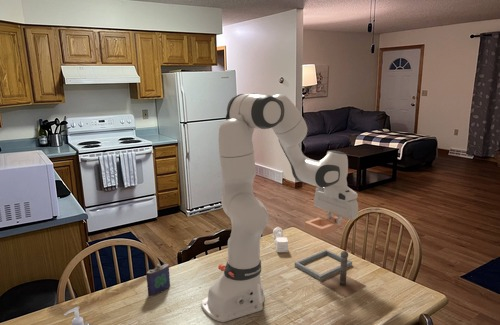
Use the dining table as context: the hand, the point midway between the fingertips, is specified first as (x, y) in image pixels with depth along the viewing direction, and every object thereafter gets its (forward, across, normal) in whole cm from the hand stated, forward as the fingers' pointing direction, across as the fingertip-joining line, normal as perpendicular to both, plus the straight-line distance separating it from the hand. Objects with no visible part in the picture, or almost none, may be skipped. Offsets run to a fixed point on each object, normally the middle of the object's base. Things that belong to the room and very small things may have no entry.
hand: (334, 222), depth 149 cm
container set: (+19, -29, -4) cm, 35 cm away
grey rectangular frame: (+18, 0, -6) cm, 19 cm away
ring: (+1, 0, -5) cm, 5 cm away
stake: (+18, +14, -11) cm, 25 cm away
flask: (+18, -26, -66) cm, 73 cm away
